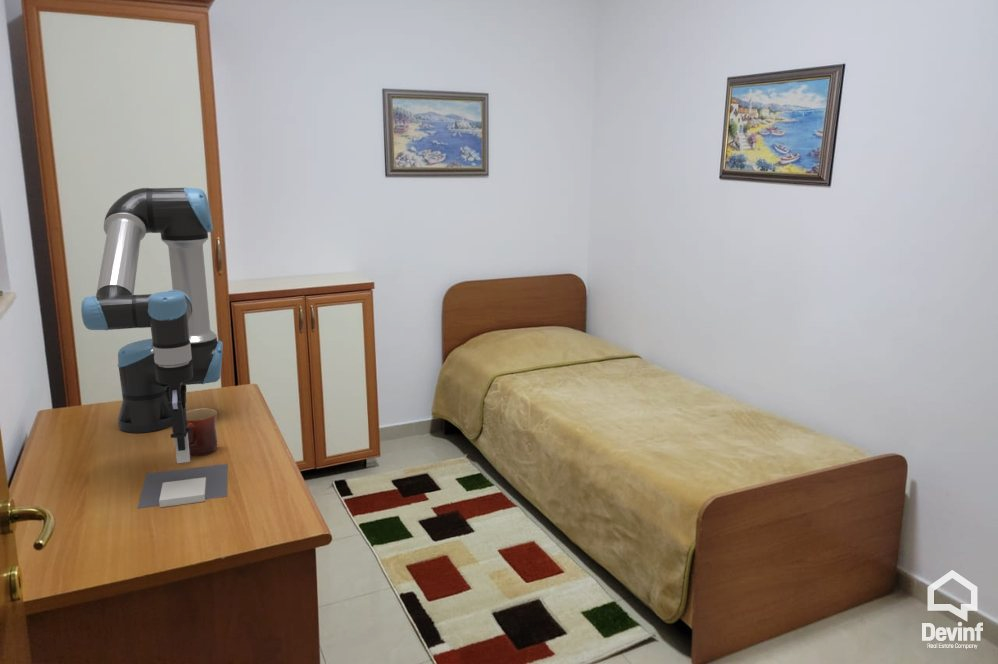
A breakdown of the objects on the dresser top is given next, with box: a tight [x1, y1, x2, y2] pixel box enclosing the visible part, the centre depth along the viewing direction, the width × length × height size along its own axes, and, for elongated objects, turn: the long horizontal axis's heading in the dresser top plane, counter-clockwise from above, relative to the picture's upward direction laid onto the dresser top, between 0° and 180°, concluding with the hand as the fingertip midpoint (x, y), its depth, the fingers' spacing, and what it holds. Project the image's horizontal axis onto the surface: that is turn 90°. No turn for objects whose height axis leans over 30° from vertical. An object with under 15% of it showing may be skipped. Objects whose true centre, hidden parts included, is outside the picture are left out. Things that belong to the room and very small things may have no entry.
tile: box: [159, 477, 206, 508], centre depth 161 cm, size 2×9×9 cm
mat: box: [137, 463, 229, 509], centre depth 166 cm, size 18×18×1 cm
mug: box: [186, 407, 218, 457], centre depth 182 cm, size 12×9×10 cm
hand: (183, 461), depth 166 cm, fingers closed
